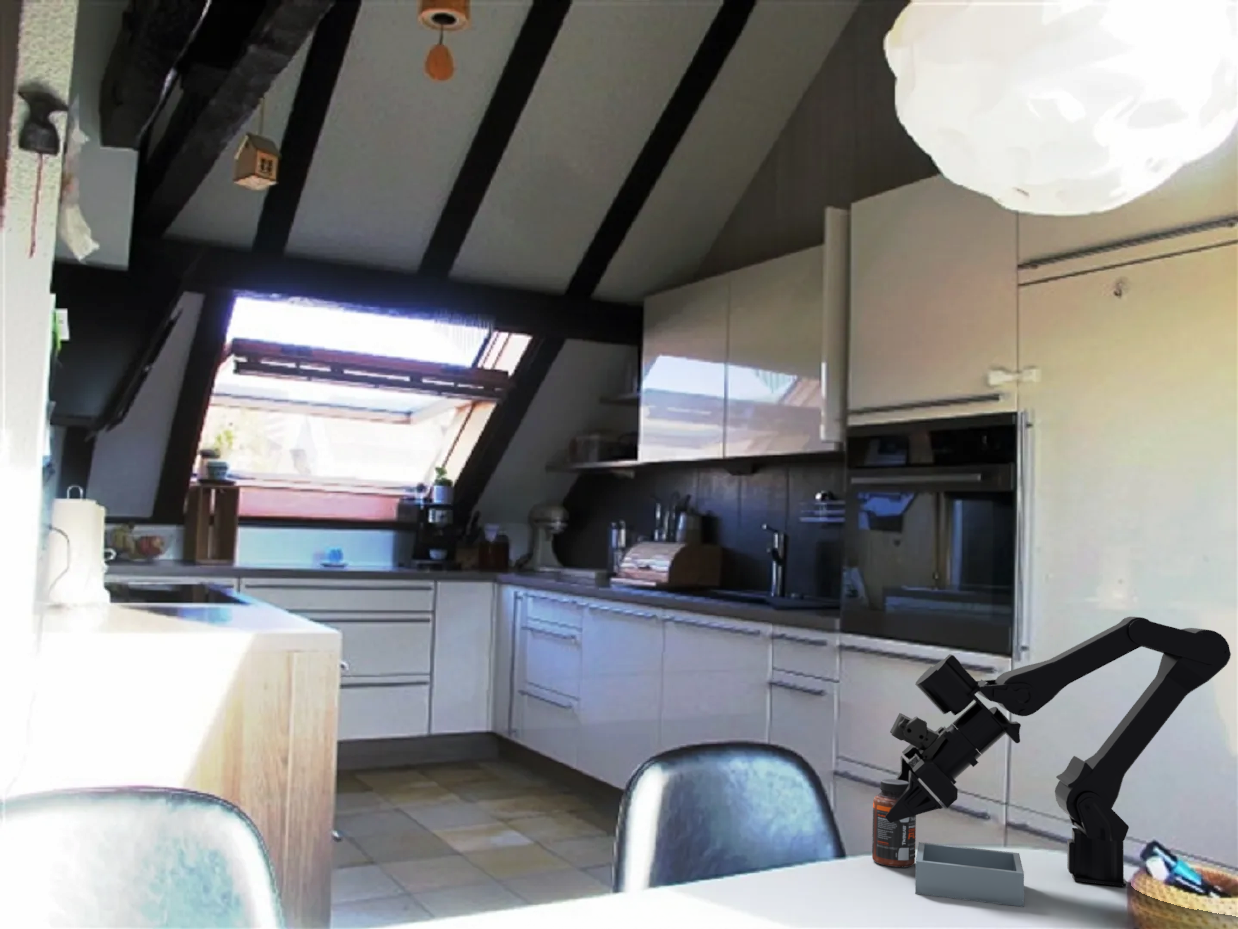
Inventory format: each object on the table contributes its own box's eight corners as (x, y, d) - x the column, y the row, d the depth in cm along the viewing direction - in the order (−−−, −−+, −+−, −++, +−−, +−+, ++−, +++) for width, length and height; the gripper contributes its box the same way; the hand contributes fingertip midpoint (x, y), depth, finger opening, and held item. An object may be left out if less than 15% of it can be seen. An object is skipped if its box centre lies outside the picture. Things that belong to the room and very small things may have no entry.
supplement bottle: (916, 870, 150) (917, 786, 151) (872, 866, 151) (873, 783, 153) (913, 860, 156) (915, 779, 157) (871, 856, 157) (872, 776, 158)
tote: (1019, 884, 145) (1019, 853, 146) (1023, 907, 135) (1023, 873, 135) (918, 872, 149) (918, 842, 150) (915, 893, 139) (915, 861, 139)
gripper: (918, 689, 165) (842, 758, 165) (933, 703, 146) (847, 780, 147) (971, 746, 162) (894, 816, 163) (994, 767, 144) (906, 845, 145)
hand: (884, 813), depth 155 cm, fingers open, 9 cm apart
